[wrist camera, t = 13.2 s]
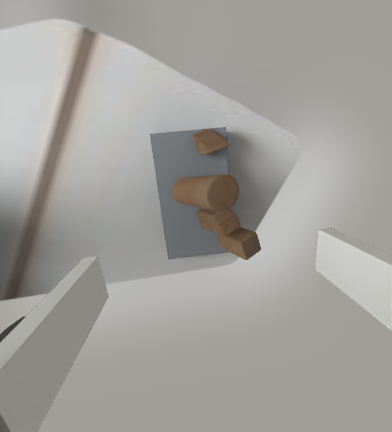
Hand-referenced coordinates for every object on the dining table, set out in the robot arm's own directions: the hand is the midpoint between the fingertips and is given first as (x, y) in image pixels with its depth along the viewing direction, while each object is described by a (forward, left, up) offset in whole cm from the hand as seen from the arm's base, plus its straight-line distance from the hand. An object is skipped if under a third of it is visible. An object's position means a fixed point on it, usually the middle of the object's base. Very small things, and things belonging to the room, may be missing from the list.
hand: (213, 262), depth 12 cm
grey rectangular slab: (0, 0, -24) cm, 24 cm away
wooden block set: (+2, 0, -20) cm, 20 cm away
